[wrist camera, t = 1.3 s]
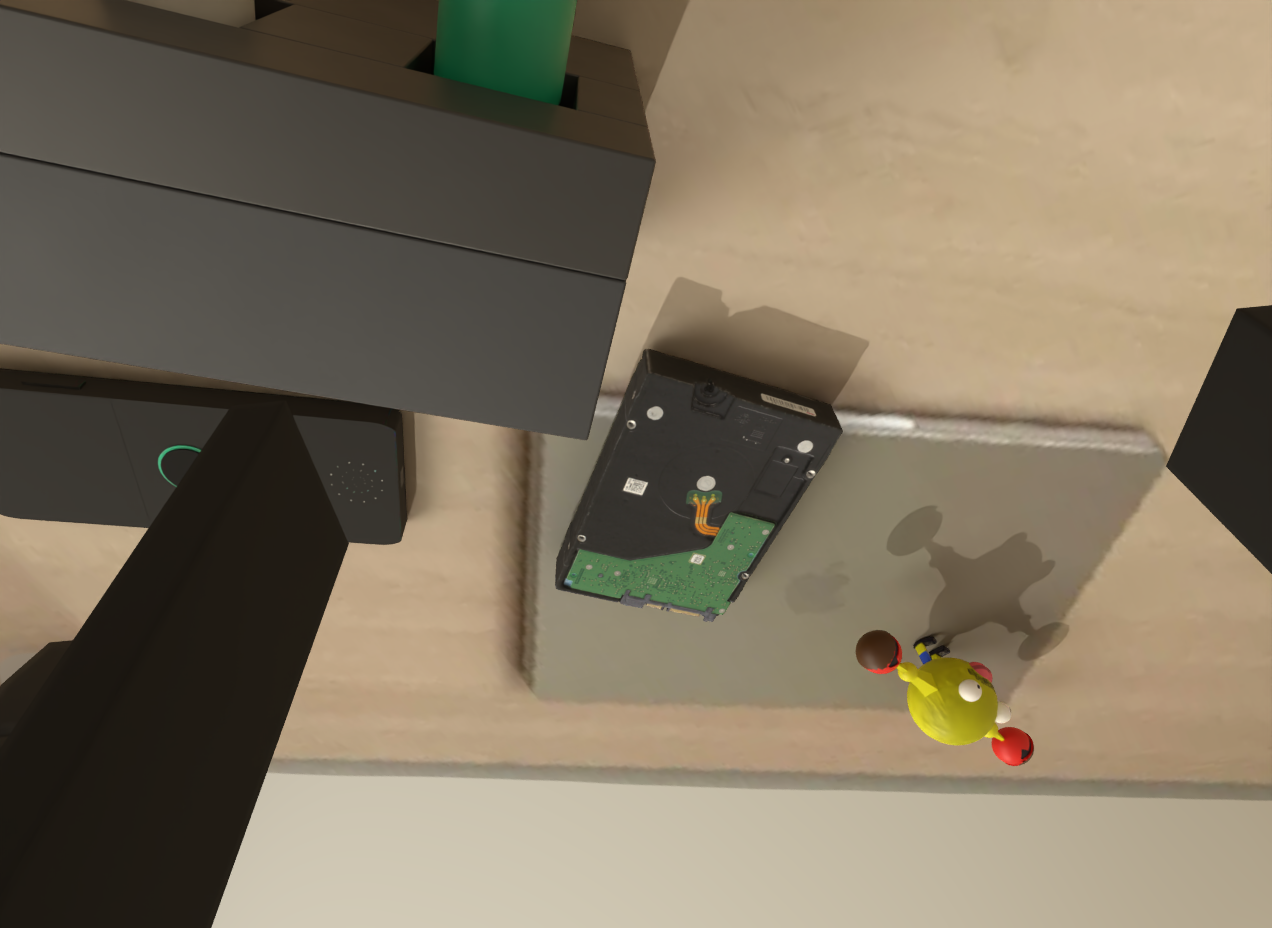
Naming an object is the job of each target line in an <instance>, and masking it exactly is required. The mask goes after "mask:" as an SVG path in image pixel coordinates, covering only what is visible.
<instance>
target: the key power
mask: <svg viewBox="0 0 1272 928" xmlns="http://www.w3.org/2000/svg"><path fill="white" fill-rule="evenodd" d="M576 4H577V0H439V6H438V20H437V34H436V49H435V63H434V75H435V76H439V77H443V78H447V79H451V80H455V81H459V82H464V83H468V84H472V85H476V86H480V87H484V88H488V89H492V90H496V91H500V92H505V93H509V94H513V95H517V96H521V97H525V98H529V99H533V100H537V101H542V102H546V103H550V104H554V105H559V104H560V101H561V95H562V89H563V83H564V77H565V71H566V65H567V59H568V53H569V47H570V40H571V34H572V28H573V22H574V16H575V10H576Z"/></svg>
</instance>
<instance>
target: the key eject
mask: <svg viewBox="0 0 1272 928" xmlns="http://www.w3.org/2000/svg"><path fill="white" fill-rule="evenodd" d="M127 1H131V2H135V3H139V4H143V5H148V6H152V7H156V8H160V9H164V10H168V11H172V12H176V13H180V14H184V15H189V16H193V17H197V18H201V19H205V20H209V21H213V22H217V23H221V24H226V25H230V26H234V27H238V28H239V27H241V26H243V25H246V24H248V23H251V22H253V21H255V3H254V0H127Z"/></svg>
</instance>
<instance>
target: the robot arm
mask: <svg viewBox="0 0 1272 928" xmlns="http://www.w3.org/2000/svg"><path fill="white" fill-rule="evenodd" d="M1166 467H1167V468H1168V469H1169V470H1170V471H1171V472H1172V473H1173V474H1174V475H1175V476H1176V477H1177V478H1178V479H1179V480H1180V481H1181V482H1182V483H1183V484H1184V485H1185V486H1186V487H1187V488H1188V489H1189V490H1190V491H1191V492H1192V493H1193V494H1194V495H1195V496H1196V497H1197V498H1198V499H1199V500H1200V501H1201V503H1202V504H1203V505H1204V506H1205V507H1206V508H1207V509H1208V510H1209V511H1210V512H1211V513H1212V514H1213V515H1214V516H1215V517H1216V518H1217V519H1218V520H1219V521H1220V522H1221V523H1222V524H1223V525H1224V526H1225V527H1226V528H1227V529H1228V530H1229V531H1230V532H1231V533H1232V534H1233V535H1234V536H1235V537H1236V538H1237V539H1238V540H1239V541H1240V542H1241V543H1242V544H1243V545H1244V546H1245V547H1246V548H1247V549H1248V550H1249V551H1250V552H1251V553H1252V554H1253V555H1254V556H1255V557H1256V558H1257V559H1258V560H1259V561H1260V562H1261V564H1262V565H1263V566H1264V567H1265V568H1266V569H1267V570H1268V571H1269V572H1270V573H1271V574H1272V305H1270V306H1259V307H1249V308H1239V309H1236V312H1235V314H1234V316H1233V318H1232V320H1231V323H1230V325H1229V327H1228V329H1227V332H1226V334H1225V336H1224V338H1223V340H1222V343H1221V345H1220V347H1219V349H1218V352H1217V354H1216V356H1215V358H1214V361H1213V363H1212V365H1211V367H1210V369H1209V372H1208V374H1207V376H1206V378H1205V381H1204V383H1203V385H1202V387H1201V389H1200V392H1199V394H1198V396H1197V398H1196V401H1195V403H1194V405H1193V407H1192V410H1191V412H1190V414H1189V416H1188V418H1187V421H1186V423H1185V425H1184V427H1183V430H1182V432H1181V434H1180V436H1179V438H1178V441H1177V443H1176V445H1175V447H1174V450H1173V452H1172V454H1171V456H1170V459H1169V461H1168V463H1167V465H1166ZM348 544H349V543H348V541H347V539H346V536H345V534H344V532H343V529H342V527H341V525H340V523H339V520H338V518H337V516H336V513H335V511H334V509H333V507H332V504H331V502H330V500H329V497H328V495H327V493H326V491H325V488H324V486H323V484H322V481H321V479H320V477H319V475H318V472H317V470H316V468H315V465H314V463H313V461H312V459H311V456H310V454H309V452H308V449H307V447H306V445H305V443H304V440H303V438H302V436H301V433H300V431H299V429H298V427H297V424H296V422H295V420H294V417H293V415H292V413H291V411H290V408H289V406H288V404H287V401H286V400H285V401H275V402H264V403H254V404H244V405H233V406H231V407H230V408H229V410H228V411H227V413H226V414H225V416H224V417H223V419H222V420H221V422H220V423H219V425H218V426H217V428H216V429H215V431H214V432H213V434H212V435H211V437H210V438H209V440H208V441H207V442H206V444H205V445H204V447H203V448H202V450H201V451H200V453H199V454H198V456H197V457H196V459H195V460H194V462H193V463H192V465H191V466H190V468H189V469H188V471H187V472H186V474H185V475H184V477H183V478H182V480H181V481H180V483H179V484H178V485H177V487H176V488H175V490H174V491H173V493H172V494H171V496H170V497H169V499H168V500H167V502H166V503H165V505H164V506H163V508H162V509H161V511H160V512H159V514H158V515H157V517H156V518H155V520H154V521H153V523H152V524H151V526H150V527H149V528H148V530H147V531H146V533H145V534H144V536H143V537H142V539H141V540H140V542H139V543H138V545H137V546H136V548H135V549H134V551H133V552H132V554H131V555H130V557H129V558H128V560H127V561H126V563H125V564H124V566H123V567H122V569H121V570H120V571H119V573H118V574H117V576H116V577H115V579H114V580H113V582H112V583H111V585H110V586H109V588H108V589H107V591H106V592H105V594H104V595H103V597H102V598H101V600H100V601H99V603H98V604H97V606H96V607H95V609H94V610H93V612H92V613H91V615H90V616H89V617H88V619H87V620H86V622H85V623H84V625H83V626H82V628H81V629H80V631H79V632H78V634H77V635H76V637H75V638H74V640H72V641H61V642H50V643H48V644H47V645H46V646H45V647H44V648H43V649H41V650H40V651H39V652H38V653H37V654H36V655H35V656H34V657H32V658H31V659H30V660H29V661H28V662H27V663H25V664H24V665H23V666H22V667H21V668H20V669H19V670H17V671H16V672H15V673H14V674H13V675H12V676H11V677H9V678H8V679H7V680H6V681H5V682H4V683H3V684H2V685H1V686H0V928H211V927H212V924H213V921H214V918H215V916H216V913H217V910H218V907H219V905H220V902H221V899H222V896H223V893H224V890H225V888H226V885H227V882H228V879H229V876H230V874H231V871H232V868H233V865H234V863H235V860H236V857H237V854H238V851H239V849H240V846H241V843H242V840H243V838H244V835H245V832H246V829H247V826H248V824H249V821H250V818H251V815H252V812H253V809H254V807H255V804H256V801H257V798H258V796H259V793H260V790H261V787H262V784H263V782H264V779H265V776H266V773H267V771H268V768H269V765H270V762H271V759H272V757H273V754H274V751H275V748H276V745H277V743H278V740H279V737H280V734H281V731H282V729H283V726H284V723H285V720H286V717H287V715H288V712H289V709H290V706H291V704H292V701H293V698H294V695H295V692H296V690H297V687H298V684H299V681H300V678H301V676H302V673H303V670H304V667H305V664H306V662H307V659H308V656H309V653H310V650H311V648H312V645H313V642H314V639H315V637H316V634H317V631H318V628H319V625H320V623H321V620H322V617H323V614H324V611H325V609H326V606H327V603H328V600H329V597H330V595H331V592H332V589H333V586H334V583H335V581H336V578H337V575H338V572H339V569H340V567H341V564H342V561H343V558H344V556H345V553H346V550H347V547H348Z"/></svg>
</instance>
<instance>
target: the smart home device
mask: <svg viewBox="0 0 1272 928" xmlns="http://www.w3.org/2000/svg"><path fill="white" fill-rule="evenodd" d="M285 400H286V401H287V404H288V406H289V408H290V411H291V413H292V415H293V417H294V420H295V422H296V424H297V427H298V429H299V431H300V433H301V436H302V438H303V440H304V443H305V445H306V447H307V449H308V452H309V454H310V456H311V459H312V461H313V463H314V465H315V468H316V470H317V472H318V475H319V477H320V479H321V481H322V484H323V486H324V488H325V491H326V493H327V495H328V497H329V500H330V502H331V504H332V507H333V509H334V511H335V513H336V516H337V518H338V520H339V523H340V525H341V527H342V529H343V532H344V534H345V536H346V539H347V541H348V542H351V543H365V544H379V545H387V544H395V543H398V542H400V541H401V539H402V536H403V532H404V529H405V525H406V522H407V510H406V489H405V468H404V447H403V427H402V414H401V413H400V412H399V411H398V410H396V409H393V408H387V407H381V406H375V405H369V404H363V403H356V402H346V401H335V400H325V399H314V398H303V397H293V396H282V395H272V394H261V393H250V392H240V391H229V390H219V389H208V388H198V387H187V386H176V385H166V384H155V383H145V382H134V381H124V380H113V379H102V378H92V377H81V376H71V375H60V374H50V373H39V372H28V371H18V370H7V369H0V514H1V515H3V516H7V517H13V518H19V519H31V520H45V521H59V522H73V523H87V524H101V525H115V526H129V527H143V528H149V527H150V526H151V524H152V523H153V521H154V520H155V518H156V517H157V515H158V514H159V512H160V511H161V509H162V508H163V506H164V505H165V503H166V502H167V500H168V499H169V497H170V496H171V494H172V493H173V491H174V490H175V488H176V487H177V485H178V484H179V483H180V481H181V480H182V478H183V477H184V475H185V474H186V472H187V471H188V469H189V468H190V466H191V465H192V463H193V462H194V460H195V459H196V457H197V456H198V454H199V453H200V451H201V450H202V448H203V447H204V445H205V444H206V442H207V441H208V440H209V438H210V437H211V435H212V434H213V432H214V431H215V429H216V428H217V426H218V425H219V423H220V422H221V420H222V419H223V417H224V416H225V414H226V413H227V411H228V410H229V408H230V407H231V406H233V405H244V404H254V403H264V402H275V401H285Z"/></svg>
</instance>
